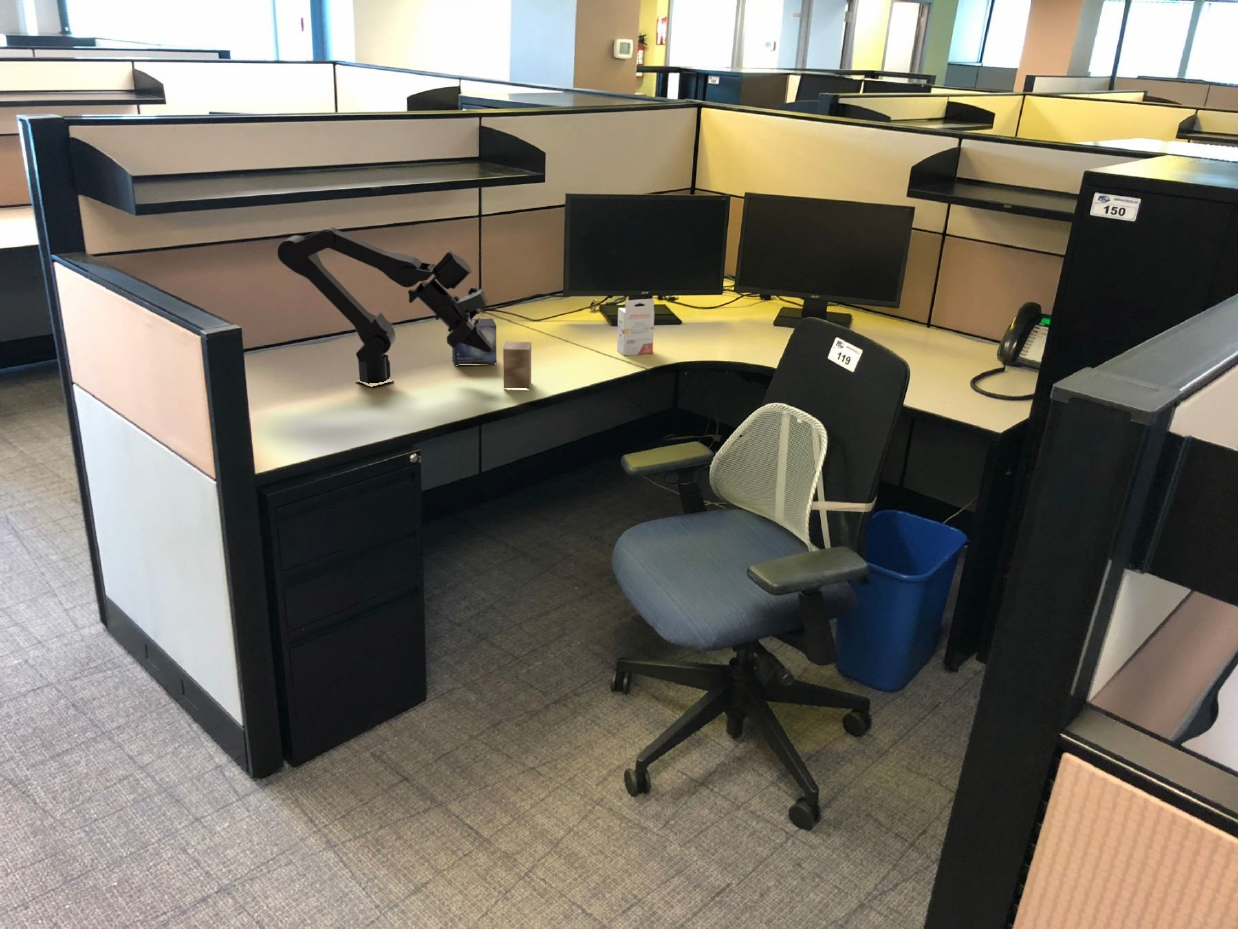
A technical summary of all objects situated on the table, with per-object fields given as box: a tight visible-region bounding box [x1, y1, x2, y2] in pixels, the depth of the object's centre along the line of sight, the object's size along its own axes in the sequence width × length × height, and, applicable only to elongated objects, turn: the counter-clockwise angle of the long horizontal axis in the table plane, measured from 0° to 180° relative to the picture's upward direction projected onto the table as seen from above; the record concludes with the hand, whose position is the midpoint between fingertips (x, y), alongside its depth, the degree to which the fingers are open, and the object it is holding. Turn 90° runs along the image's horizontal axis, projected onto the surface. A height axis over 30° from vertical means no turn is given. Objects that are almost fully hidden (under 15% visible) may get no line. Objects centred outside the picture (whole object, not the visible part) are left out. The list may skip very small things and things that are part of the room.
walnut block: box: [502, 341, 532, 390], centre depth 224 cm, size 6×6×10 cm
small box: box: [451, 318, 497, 366], centre depth 240 cm, size 11×6×10 cm, turn 105°
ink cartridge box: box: [616, 298, 655, 356], centre depth 252 cm, size 9×5×15 cm, turn 112°
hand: (490, 350), depth 223 cm, fingers closed
